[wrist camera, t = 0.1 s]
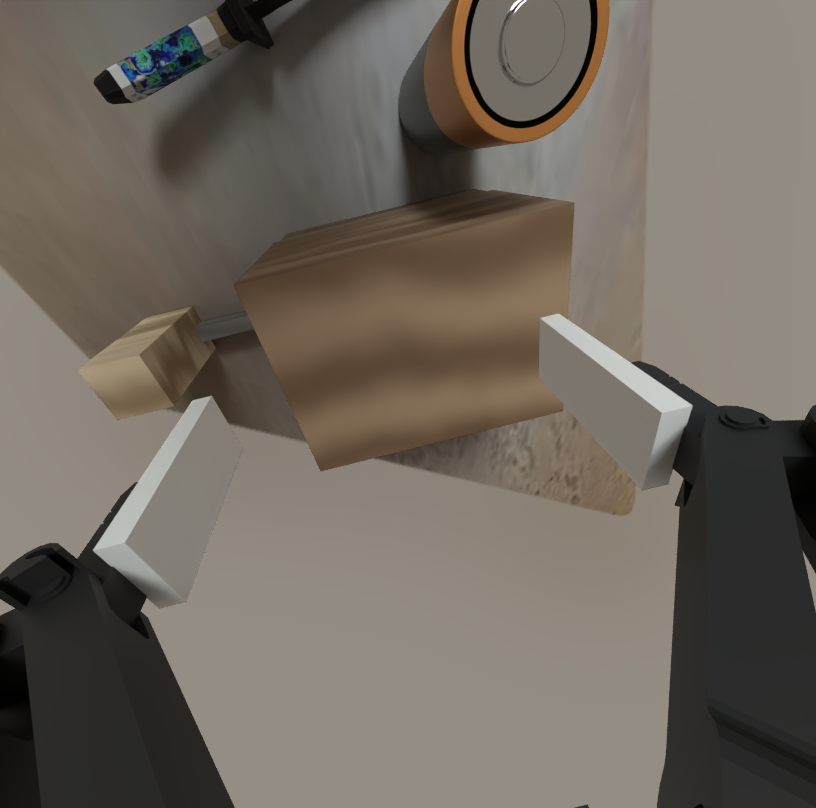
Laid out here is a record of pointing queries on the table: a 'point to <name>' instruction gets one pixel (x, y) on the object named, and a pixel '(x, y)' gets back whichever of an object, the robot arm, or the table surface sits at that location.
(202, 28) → the knife
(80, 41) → the table surface
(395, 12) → the table surface
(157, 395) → the blade tool
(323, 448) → the cabinet
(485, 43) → the battery
